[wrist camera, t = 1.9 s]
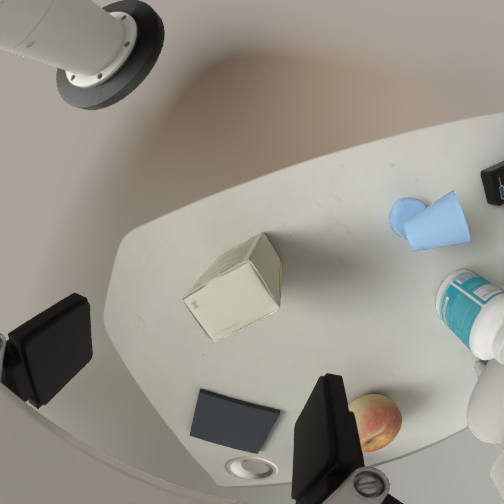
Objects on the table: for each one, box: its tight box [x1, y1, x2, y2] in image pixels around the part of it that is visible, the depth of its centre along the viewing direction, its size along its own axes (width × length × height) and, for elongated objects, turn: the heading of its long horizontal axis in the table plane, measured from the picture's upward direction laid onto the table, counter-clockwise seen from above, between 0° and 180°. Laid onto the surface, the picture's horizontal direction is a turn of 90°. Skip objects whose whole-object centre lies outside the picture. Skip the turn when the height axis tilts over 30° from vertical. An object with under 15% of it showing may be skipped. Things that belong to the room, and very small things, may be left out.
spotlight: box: [390, 190, 471, 251], centre depth 23 cm, size 5×10×7 cm
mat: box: [190, 389, 280, 454], centre depth 38 cm, size 12×12×1 cm
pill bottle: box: [436, 269, 504, 364], centre depth 23 cm, size 8×7×14 cm
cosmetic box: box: [181, 232, 282, 342], centre depth 26 cm, size 6×4×12 cm
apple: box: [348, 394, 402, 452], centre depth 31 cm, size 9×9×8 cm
